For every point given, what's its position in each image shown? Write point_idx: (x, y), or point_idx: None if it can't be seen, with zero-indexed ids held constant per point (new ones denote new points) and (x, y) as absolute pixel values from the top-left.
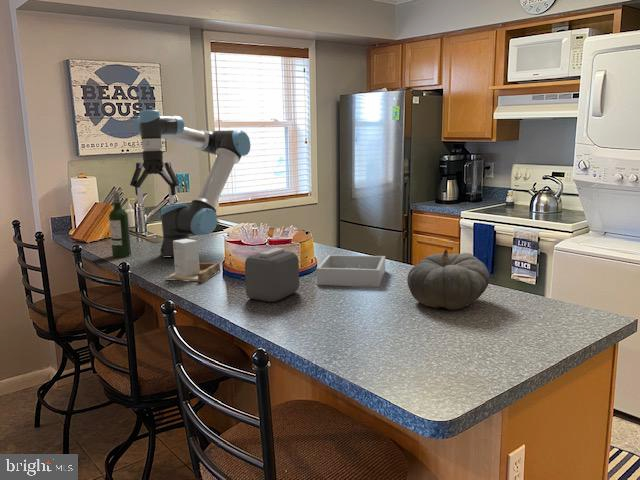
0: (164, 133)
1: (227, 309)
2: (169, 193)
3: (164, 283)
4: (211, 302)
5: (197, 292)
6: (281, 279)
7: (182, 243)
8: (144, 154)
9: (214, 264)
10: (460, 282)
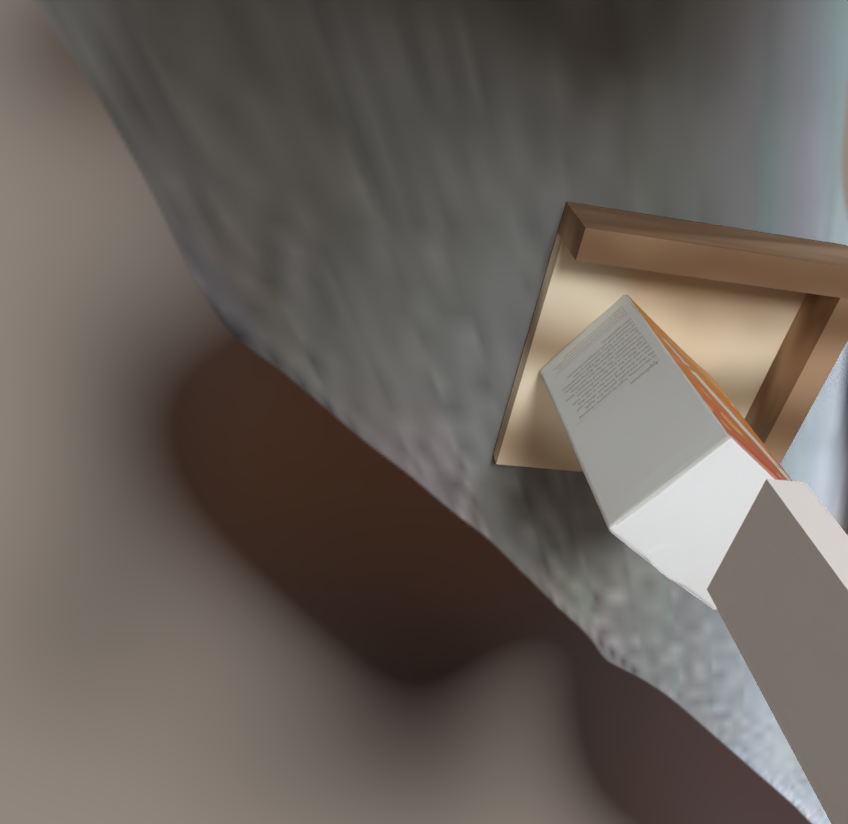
0: None
1: None
2: (841, 807)
3: (503, 502)
4: (756, 707)
5: (698, 617)
6: None
7: (701, 600)
8: None
9: (840, 314)
10: None
